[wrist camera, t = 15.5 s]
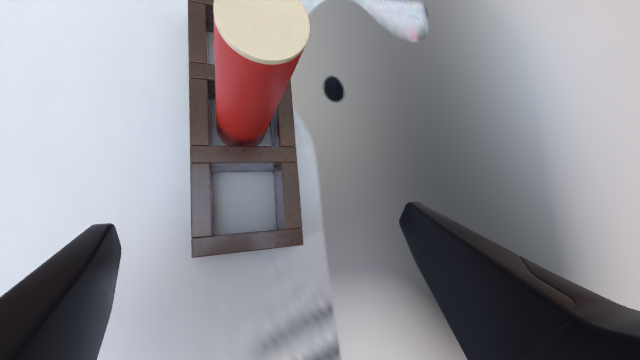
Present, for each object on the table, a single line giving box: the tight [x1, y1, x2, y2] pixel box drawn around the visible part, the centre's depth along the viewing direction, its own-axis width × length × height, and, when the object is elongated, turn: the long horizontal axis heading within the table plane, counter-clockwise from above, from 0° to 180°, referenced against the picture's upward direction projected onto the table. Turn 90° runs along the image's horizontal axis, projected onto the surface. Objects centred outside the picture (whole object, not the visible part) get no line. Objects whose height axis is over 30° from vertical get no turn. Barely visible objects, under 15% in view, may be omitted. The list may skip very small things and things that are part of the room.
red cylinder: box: [213, 0, 310, 146], centre depth 17 cm, size 4×4×12 cm
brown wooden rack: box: [188, 0, 303, 258], centre depth 21 cm, size 19×7×3 cm, turn 4°
